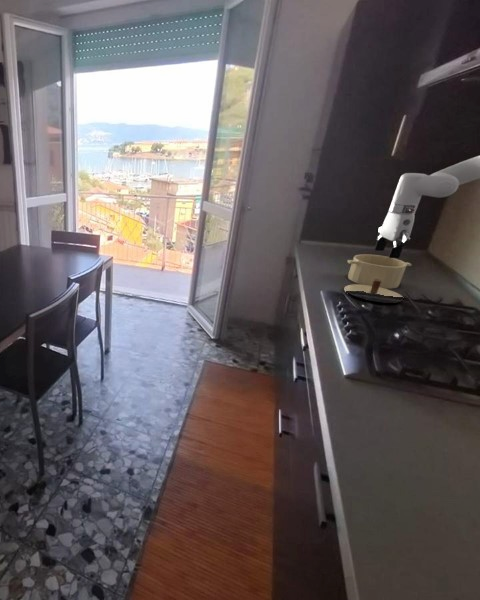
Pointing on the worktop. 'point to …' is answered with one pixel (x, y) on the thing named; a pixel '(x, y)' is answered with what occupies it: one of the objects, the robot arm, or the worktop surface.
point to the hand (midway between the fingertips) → (385, 254)
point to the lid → (372, 289)
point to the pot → (377, 270)
